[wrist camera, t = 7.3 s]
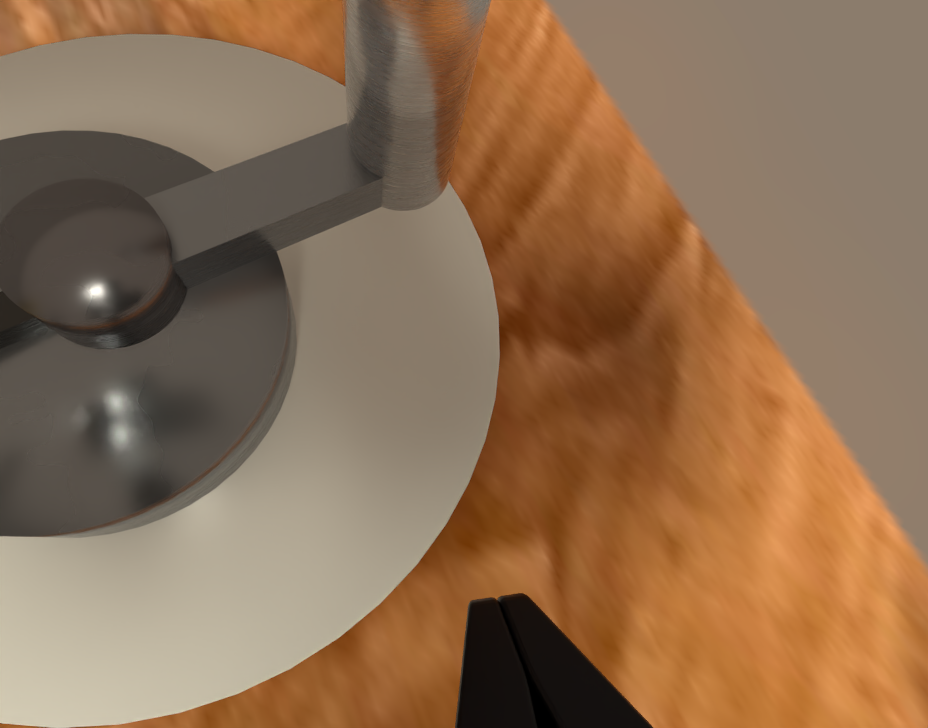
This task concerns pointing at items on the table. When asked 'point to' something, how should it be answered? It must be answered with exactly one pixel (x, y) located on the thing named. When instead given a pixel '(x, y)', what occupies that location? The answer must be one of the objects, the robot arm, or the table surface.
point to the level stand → (291, 435)
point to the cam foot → (192, 278)
